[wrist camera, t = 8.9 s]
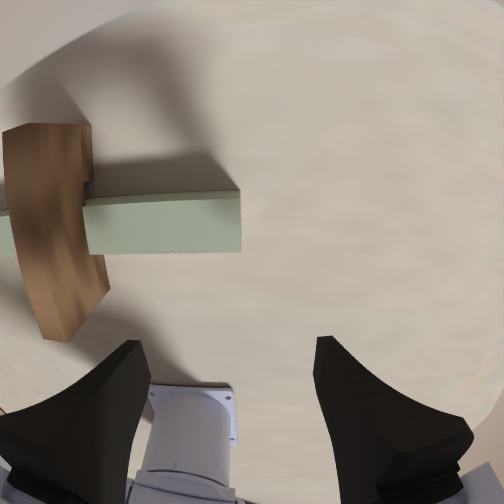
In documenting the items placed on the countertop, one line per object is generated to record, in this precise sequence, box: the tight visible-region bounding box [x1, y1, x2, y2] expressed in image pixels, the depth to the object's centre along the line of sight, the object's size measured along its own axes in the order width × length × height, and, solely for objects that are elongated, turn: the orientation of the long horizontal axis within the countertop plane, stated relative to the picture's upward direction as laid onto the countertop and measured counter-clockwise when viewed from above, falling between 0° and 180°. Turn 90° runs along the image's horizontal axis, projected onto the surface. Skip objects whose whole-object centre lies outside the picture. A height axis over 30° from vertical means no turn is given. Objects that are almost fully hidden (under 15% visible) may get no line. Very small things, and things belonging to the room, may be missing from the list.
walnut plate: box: [2, 123, 110, 343], centre depth 15 cm, size 12×2×7 cm, turn 0°
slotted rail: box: [0, 191, 241, 256], centre depth 17 cm, size 3×22×3 cm, turn 90°
